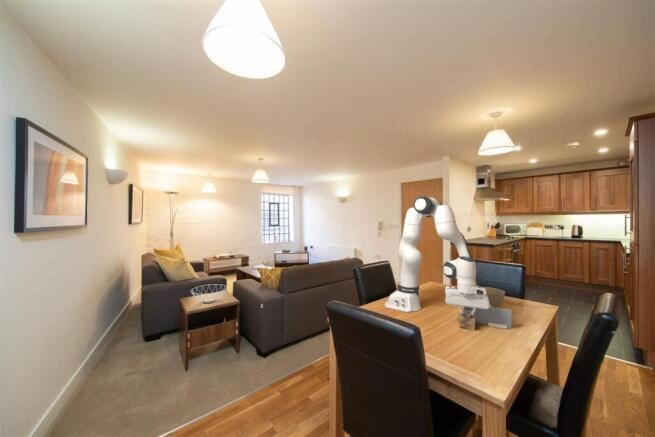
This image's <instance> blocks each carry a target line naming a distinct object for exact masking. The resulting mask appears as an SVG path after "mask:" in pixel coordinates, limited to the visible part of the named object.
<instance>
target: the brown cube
mask: <svg viewBox="0 0 655 437" xmlns="http://www.w3.org/2000/svg"><path fill="white" fill-rule="evenodd" d="M463 310H464V314H461V312H459V318H458V320H459V324H458V325H459V329H462V330H463V329H464V330H469V331H473V332H474V331H476V323H475V317H474V315H473V316H471V315H470V308H465V307H463Z"/></svg>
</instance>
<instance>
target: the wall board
mask: <svg viewBox="0 0 655 437" xmlns="http://www.w3.org/2000/svg"><path fill="white" fill-rule="evenodd" d="M464 308H470V311H472V310H473V307H466V306H464ZM473 315H474V317H475V324H480V325H488V327H494V328H497V329H498V328H499V329H512V310H511V309H510V308H504V307H503V308H501V307H499V308H495V307H490V308H489V309H481V308H476V310H475V312H474V313H473Z"/></svg>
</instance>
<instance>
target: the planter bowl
mask: <svg viewBox="0 0 655 437" xmlns="http://www.w3.org/2000/svg"><path fill="white" fill-rule="evenodd" d="M482 287H483V288H485V289H486V294H487V296H488V299H489V303H490V304H491V306H492V307H495V308H500V307H501V305H503V303H504V301H505V295H506V291H504V290H502V289H499V288H496V287H495V288H494V287H488V286H482Z"/></svg>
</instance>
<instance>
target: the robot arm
mask: <svg viewBox="0 0 655 437" xmlns="http://www.w3.org/2000/svg"><path fill="white" fill-rule="evenodd" d="M430 217H432V218H433V220H434V227H435V231H436V233H437V236H439V237H440V238H441V239H443V240H445V241H448V242H451V243H452V244H454V246H455V248H456V251H457V253H458V255H459V256H458V257H457V258H456V259H453V260H449V261H445V262H444V263H443V265H442V272H443V275H445V276H444V277H446V278H448V279H455V280H457V281H456V284H457V285H456V286H446V287H445V288H444V294H445V303H446V304H447V305H452V306H458V307H457V308H458V309H459V311H460V313H461V314H464V309H462V307H465V306H466V307H473V310H472V311H470V315H471V316H473V313H474V312H475V310H476V308H481V309H489V308H490V305H489V299H488V296H487V294H486V289H485V288H483V287H484V286H480V285H477V281H476V280H477V279H476V277H477V264H476V261H475V260H474V258H473V257H472V255H471V252H470V251H471V250H470V249H469V246H468V243H467V241H466V238H465V236H464V234H463V232H461V231H460V230H459V228H458V224H457V220H456V216H455V213H454V211H453V209H452V207H451V206H450V205H448V204H442V202H441V201H439V200H438V199H437V198H436V199H435V198H433V197H431V196H430V197H429V196H425V195H424V196H419V197H417V198H416V199H415V200H414V201H413V207H410V208H408V209H407V212H406V215H405V218H404V222H403V223H404V224H403V229H402V230H403V231H402V236H401V239H400V243H399V247H398V249H397V251H396V252H397V256H398V259H399V260H401V269H400V272H399V279H400V280H399V281H400V282H399V283H398V284H397V286H396V290H394V292H392V293H390V295H389V297H388V300H387V301H385V303H384V307H385V308H386V309H390V310H391V309H392V310H396V311H399V312H405V313H410V312H418V311H421V310H422V306H421V300H420V286H419V272H420V267H421V262H422V260H423V259H422V258H423V256H422V252H420V250H418V244H419V242H420V241H421V238H422V232H423V231H422V230H423V224H424V222H423V221H424V220H425V218H430Z"/></svg>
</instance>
